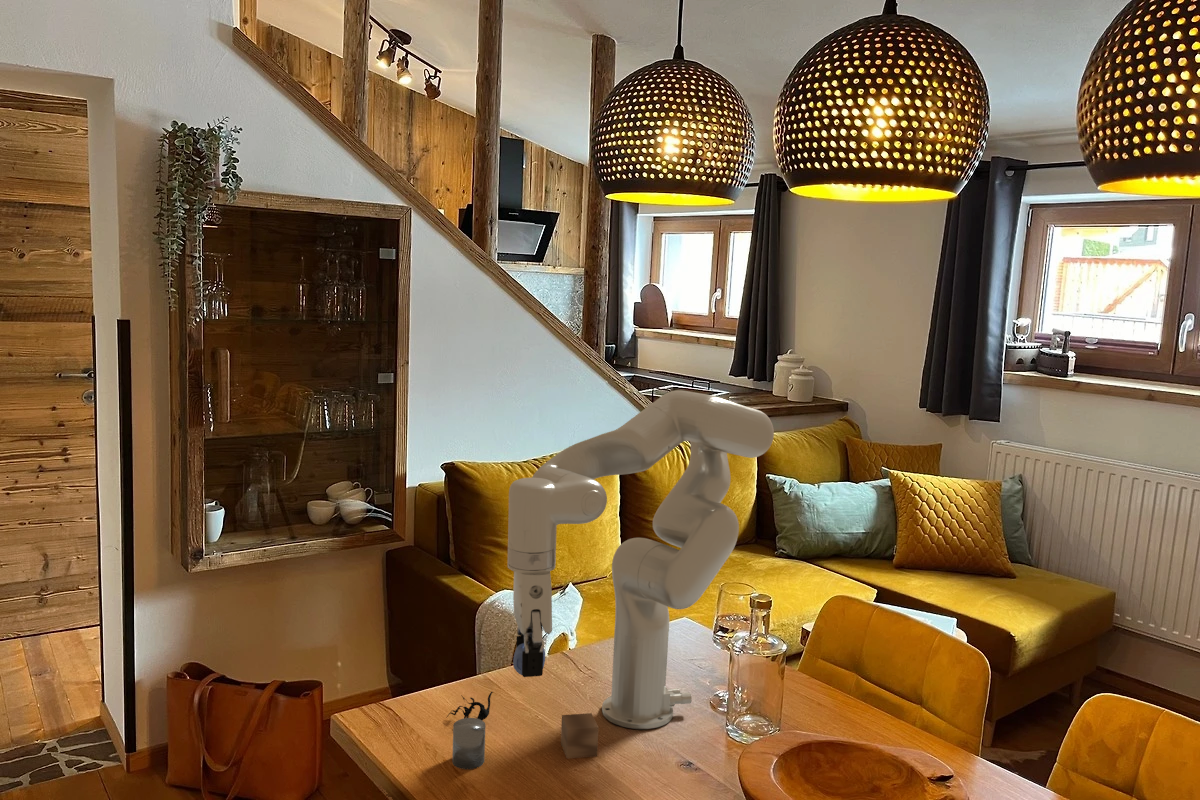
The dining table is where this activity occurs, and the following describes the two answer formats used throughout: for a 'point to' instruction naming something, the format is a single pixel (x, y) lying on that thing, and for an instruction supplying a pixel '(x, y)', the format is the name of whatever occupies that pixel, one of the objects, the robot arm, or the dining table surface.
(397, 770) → the dining table surface
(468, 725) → the dark metal cylinder
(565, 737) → the walnut block
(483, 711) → the creature
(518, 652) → the decorative dice
